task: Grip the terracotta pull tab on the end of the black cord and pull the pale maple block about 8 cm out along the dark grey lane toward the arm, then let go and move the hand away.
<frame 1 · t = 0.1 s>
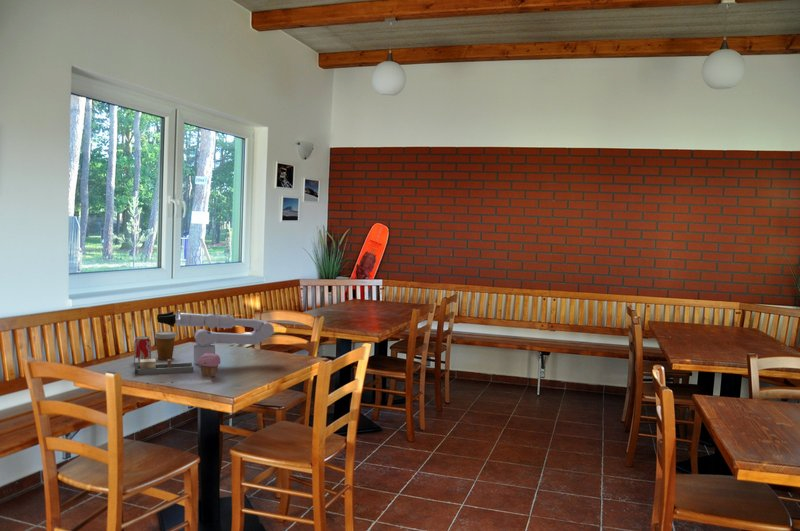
hand: (157, 318, 290), 22 cm above the table, tool horizontal, fingers open, 7 cm apart
cupcake: (209, 377, 277), on the table
lane: (164, 372, 281), on the table
disposable coffee cup: (165, 358, 310), on the table
soda can: (142, 364, 296), on the table
block: (155, 365, 279), point 3 cm above the table, slide at 0.0 cm
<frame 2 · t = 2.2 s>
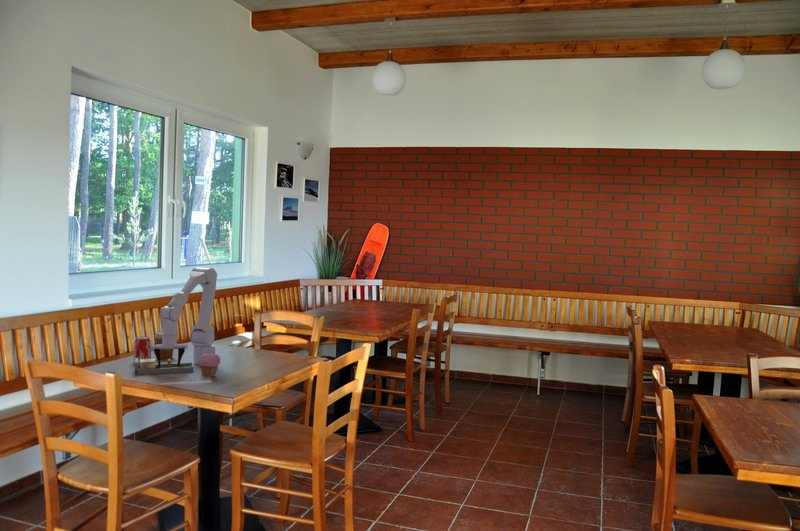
hand: (169, 366, 281), 3 cm above the table, tool pointing down, fingers open, 7 cm apart
block: (155, 365, 279), point 3 cm above the table, slide at 0.0 cm, touching gripper
everything else where it was.
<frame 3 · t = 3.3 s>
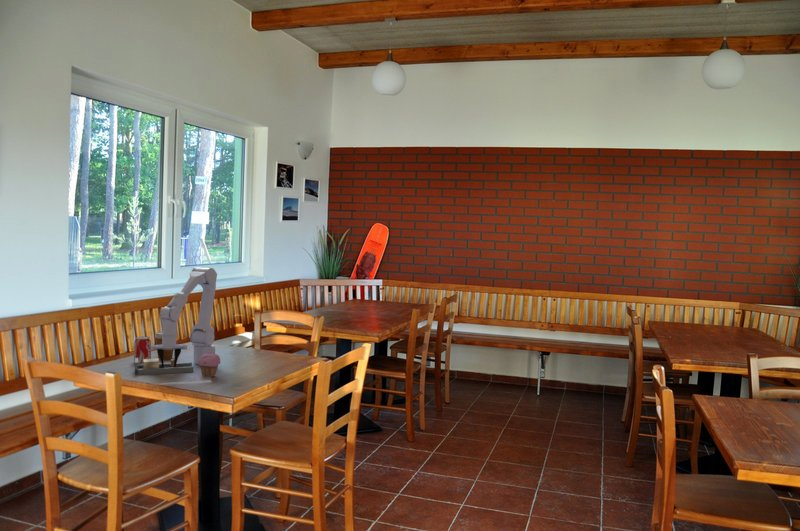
hand: (168, 366, 281), 3 cm above the table, tool pointing down, fingers closed on block, 4 cm apart
block: (158, 365, 280), point 3 cm above the table, slide at 1.3 cm, touching gripper
everything else where it was.
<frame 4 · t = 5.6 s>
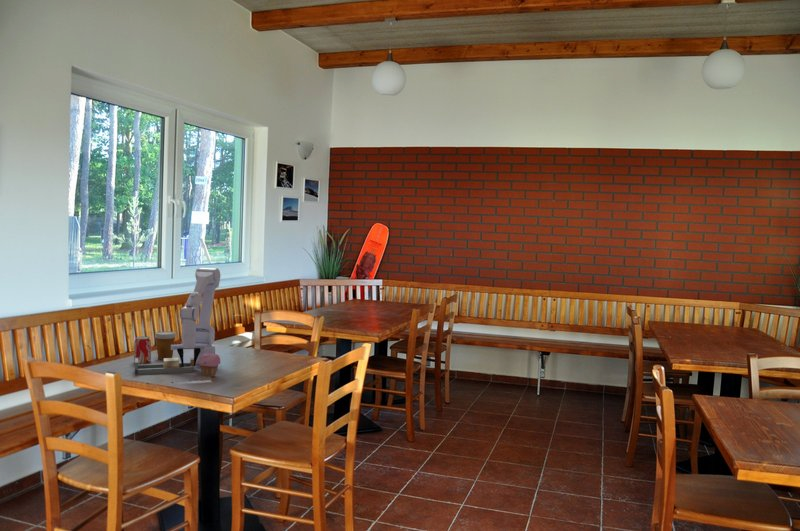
hand: (188, 365, 284), 3 cm above the table, tool pointing down, fingers closed on block, 4 cm apart
block: (178, 364, 282), point 3 cm above the table, slide at 9.3 cm, touching gripper
everything else where it was.
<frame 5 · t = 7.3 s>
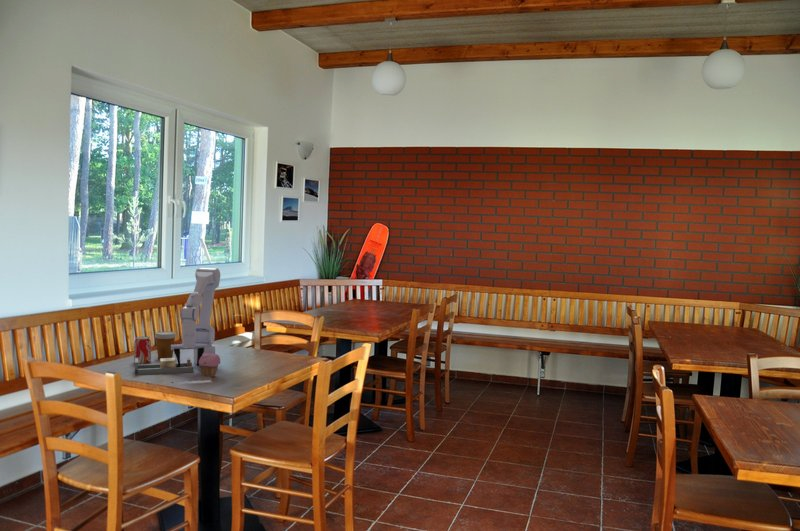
hand: (188, 365, 284), 3 cm above the table, tool pointing down, fingers open, 7 cm apart
block: (175, 364, 282), point 3 cm above the table, slide at 7.9 cm, touching gripper
everything else where it was.
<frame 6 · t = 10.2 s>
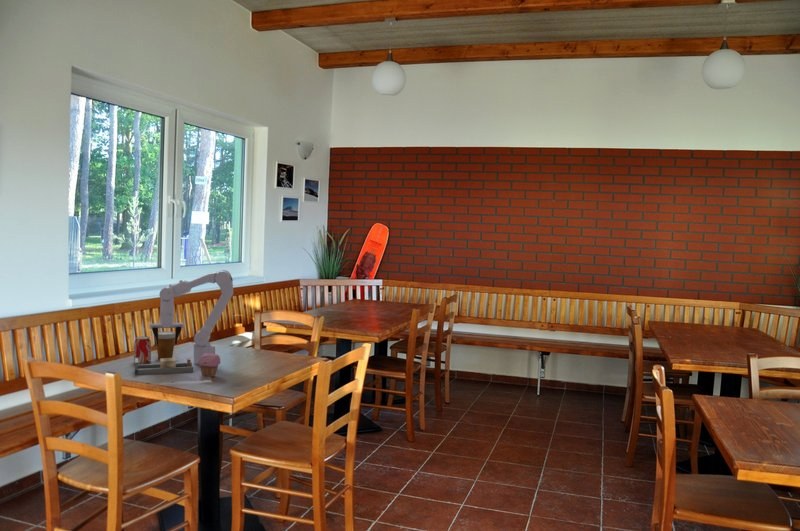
hand: (166, 344, 295), 9 cm above the table, tool pointing down, fingers open, 7 cm apart
block: (175, 364, 282), point 3 cm above the table, slide at 8.0 cm
everything else where it was.
at the end: block slide at 8.0 cm; the gripper is holding nothing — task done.
